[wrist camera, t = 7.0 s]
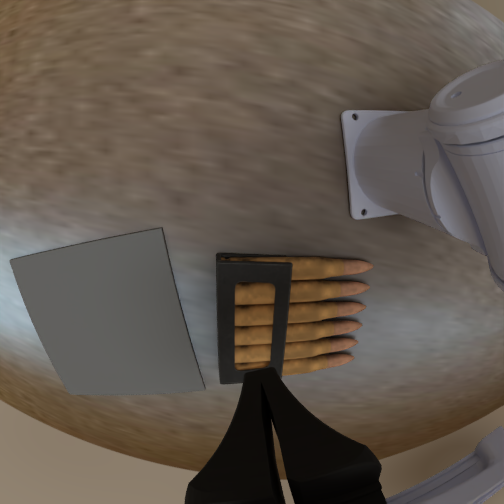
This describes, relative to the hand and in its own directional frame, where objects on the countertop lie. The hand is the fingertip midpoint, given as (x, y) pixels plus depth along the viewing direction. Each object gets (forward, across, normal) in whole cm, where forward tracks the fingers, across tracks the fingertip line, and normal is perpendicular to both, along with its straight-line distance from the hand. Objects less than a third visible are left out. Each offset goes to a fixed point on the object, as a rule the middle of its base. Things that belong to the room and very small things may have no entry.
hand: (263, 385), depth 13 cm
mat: (+11, +13, +1) cm, 16 cm away
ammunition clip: (+9, +3, +2) cm, 10 cm away
